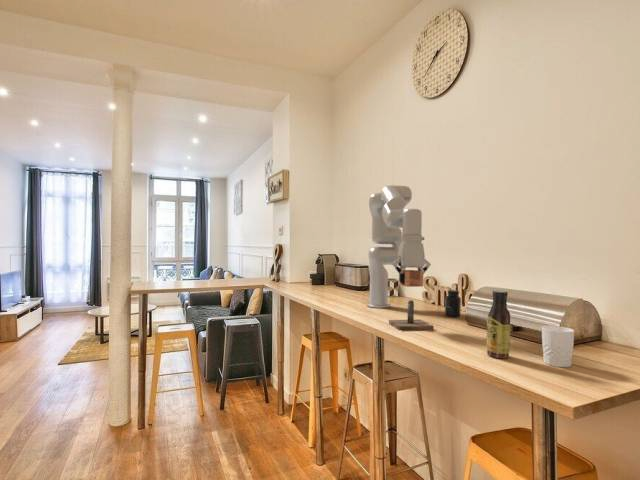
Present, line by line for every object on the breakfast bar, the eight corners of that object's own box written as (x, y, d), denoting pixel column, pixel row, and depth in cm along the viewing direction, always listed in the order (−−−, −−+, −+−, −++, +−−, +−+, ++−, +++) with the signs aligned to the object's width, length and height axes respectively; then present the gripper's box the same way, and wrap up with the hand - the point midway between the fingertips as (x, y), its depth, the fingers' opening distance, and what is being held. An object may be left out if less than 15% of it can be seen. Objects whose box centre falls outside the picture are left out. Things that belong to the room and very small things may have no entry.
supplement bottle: (444, 316, 170) (444, 290, 170) (445, 314, 176) (445, 289, 177) (460, 318, 168) (460, 291, 168) (460, 315, 174) (461, 290, 174)
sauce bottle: (483, 352, 114) (484, 289, 114) (503, 353, 114) (504, 289, 114) (492, 359, 108) (493, 291, 108) (514, 360, 108) (515, 292, 108)
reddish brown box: (399, 284, 152) (399, 270, 152) (415, 284, 153) (415, 270, 153) (406, 286, 145) (406, 271, 145) (423, 286, 146) (423, 271, 146)
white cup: (562, 369, 100) (562, 333, 100) (535, 361, 107) (535, 326, 107) (580, 366, 103) (580, 330, 103) (552, 358, 110) (553, 324, 110)
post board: (388, 323, 153) (389, 298, 154) (420, 323, 156) (420, 297, 156) (399, 330, 142) (399, 302, 142) (433, 329, 144) (433, 302, 144)
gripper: (427, 239, 154) (427, 282, 154) (388, 239, 151) (387, 282, 151) (436, 239, 147) (435, 284, 146) (394, 239, 144) (394, 284, 144)
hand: (411, 283), depth 149 cm, fingers closed on reddish brown box, 7 cm apart
